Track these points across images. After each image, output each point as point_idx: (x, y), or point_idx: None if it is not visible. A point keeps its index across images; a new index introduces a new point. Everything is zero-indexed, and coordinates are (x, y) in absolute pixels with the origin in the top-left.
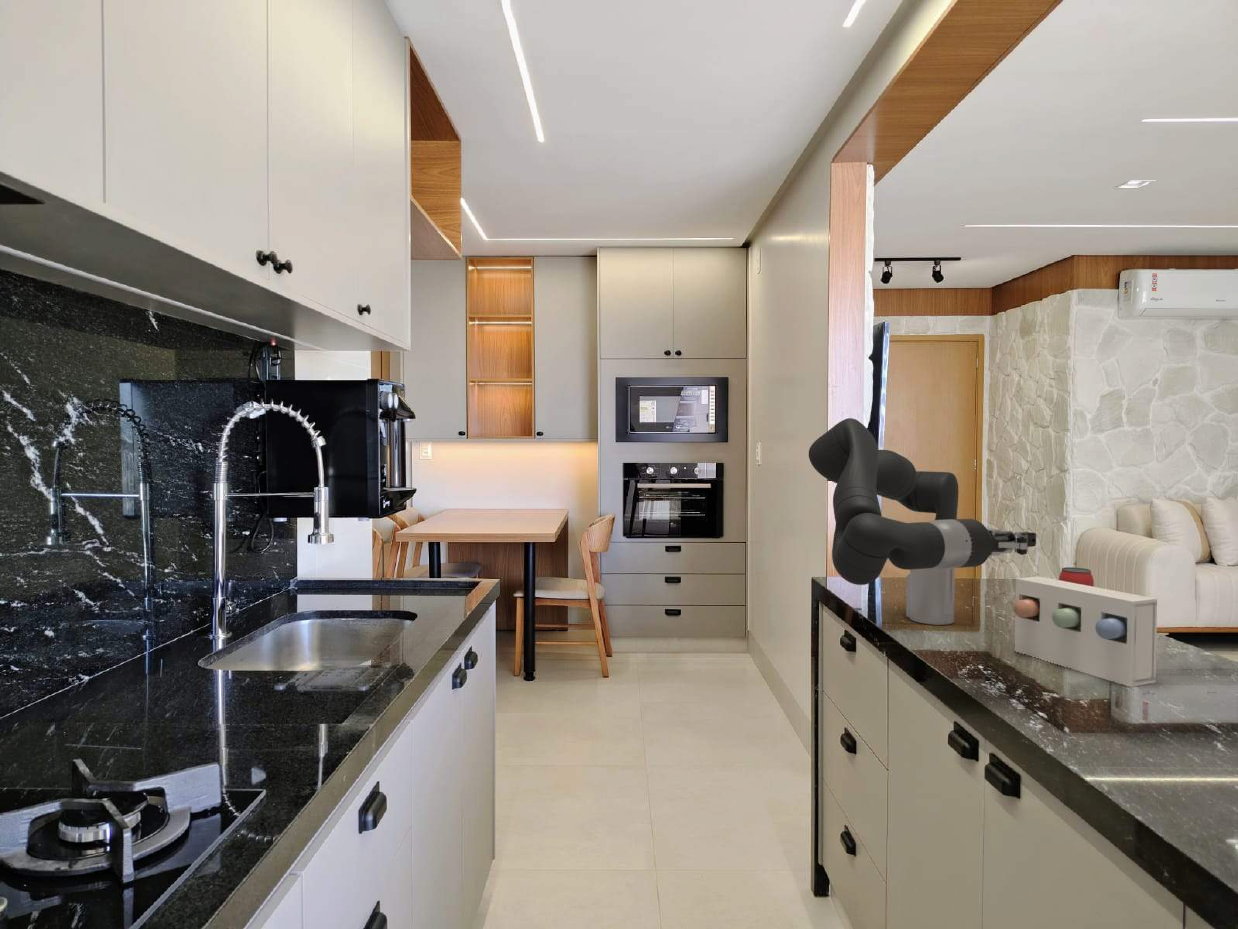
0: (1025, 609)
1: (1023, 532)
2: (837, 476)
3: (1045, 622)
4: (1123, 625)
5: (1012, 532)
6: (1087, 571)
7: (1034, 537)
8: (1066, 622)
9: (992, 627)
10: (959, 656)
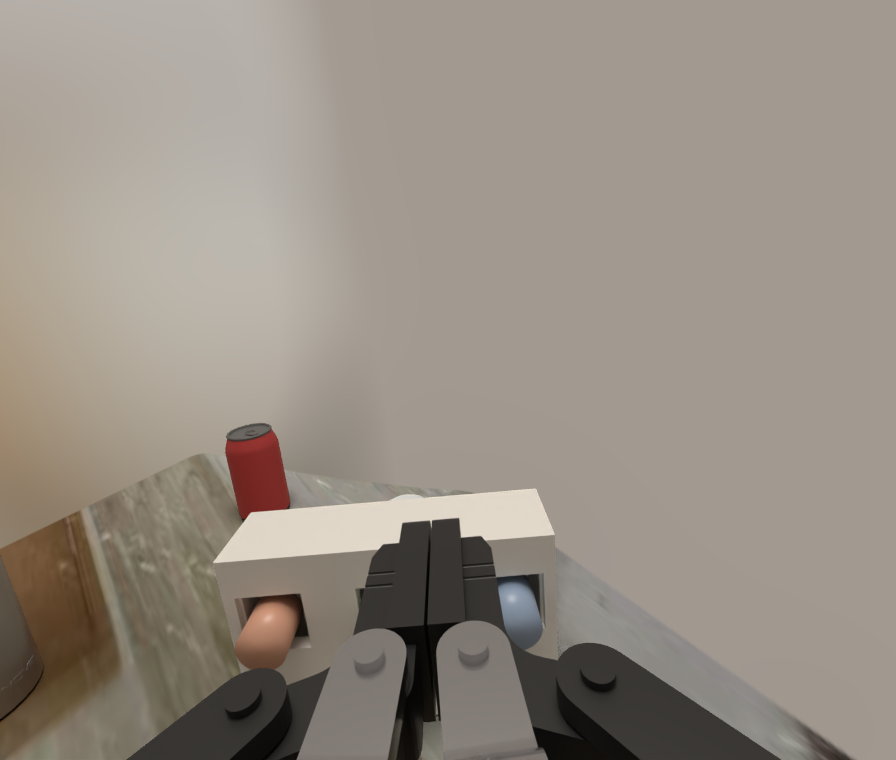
0: (276, 648)
1: (416, 553)
2: None
3: (328, 642)
4: (531, 590)
5: (544, 751)
6: (268, 429)
7: (492, 559)
8: None
9: (145, 621)
10: None
